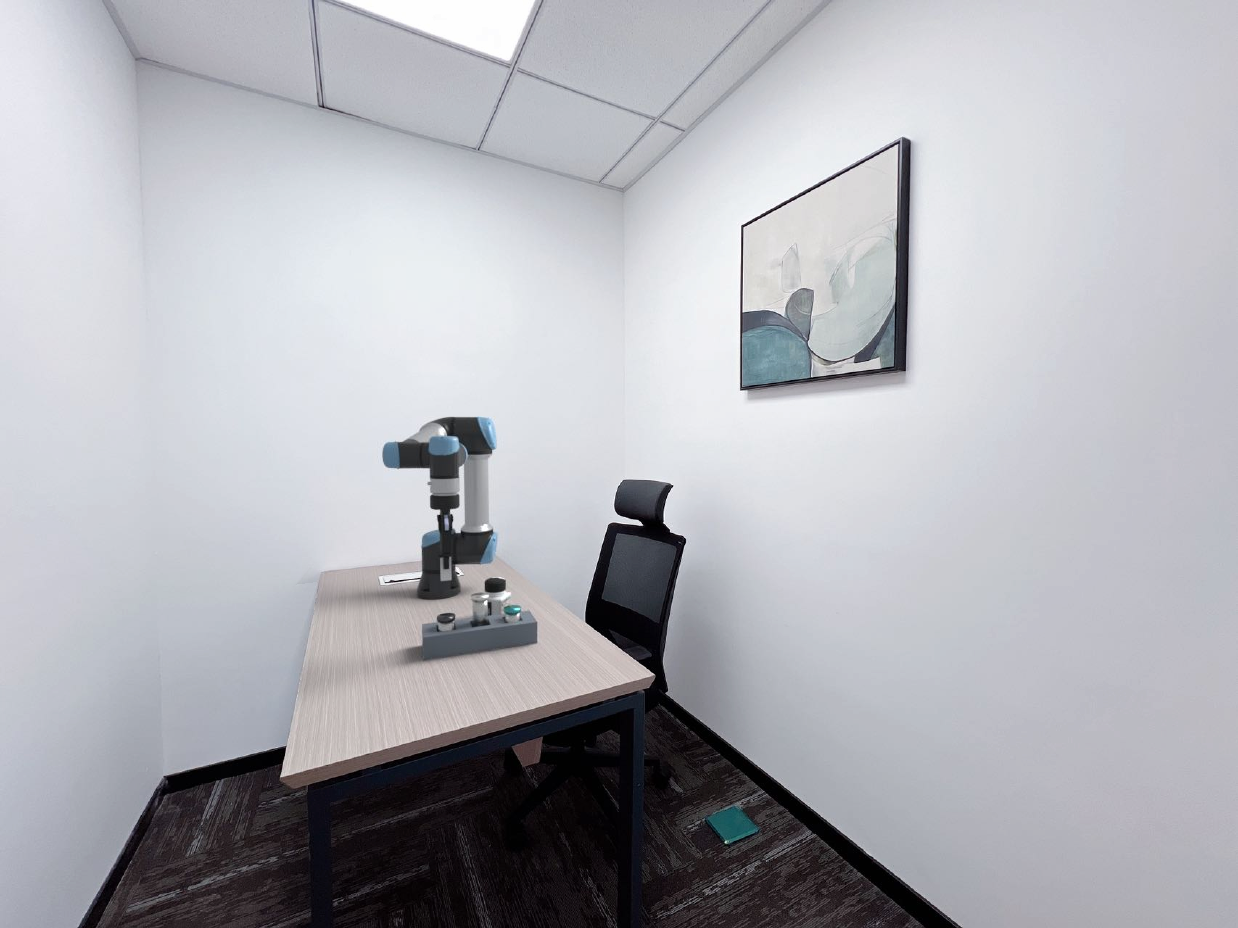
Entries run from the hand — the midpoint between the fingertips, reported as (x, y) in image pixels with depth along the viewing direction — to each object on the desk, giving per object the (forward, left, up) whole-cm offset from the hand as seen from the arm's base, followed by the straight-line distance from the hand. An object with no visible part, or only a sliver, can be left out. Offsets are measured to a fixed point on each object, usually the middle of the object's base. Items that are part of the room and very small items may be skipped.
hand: (446, 579), depth 137 cm
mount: (0, +9, -19) cm, 21 cm away
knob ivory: (0, +9, -14) cm, 16 cm away
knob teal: (0, +18, -18) cm, 26 cm away
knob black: (0, 0, -18) cm, 18 cm away
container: (-18, +16, -19) cm, 31 cm away
